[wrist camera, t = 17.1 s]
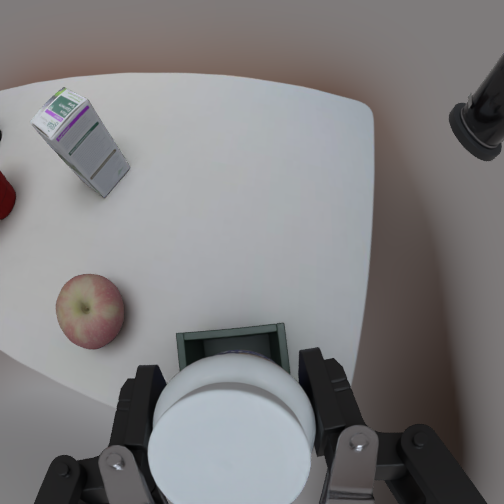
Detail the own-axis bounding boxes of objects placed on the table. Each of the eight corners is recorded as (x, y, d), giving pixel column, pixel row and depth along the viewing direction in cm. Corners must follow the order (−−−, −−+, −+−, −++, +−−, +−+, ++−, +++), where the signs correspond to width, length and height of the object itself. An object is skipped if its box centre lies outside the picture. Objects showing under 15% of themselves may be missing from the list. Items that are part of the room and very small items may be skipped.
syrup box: (132, 166, 38) (90, 95, 24) (104, 200, 37) (49, 138, 23) (107, 150, 39) (64, 83, 25) (80, 181, 38) (27, 121, 24)
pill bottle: (291, 349, 16) (347, 357, 7) (288, 441, 14) (330, 538, 5) (191, 346, 16) (118, 348, 7) (189, 437, 14) (129, 527, 5)
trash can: (272, 327, 33) (284, 322, 23) (281, 400, 30) (296, 425, 20) (197, 335, 32) (175, 333, 22) (206, 407, 30) (188, 435, 20)
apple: (126, 357, 31) (94, 360, 24) (74, 335, 32) (35, 331, 24) (143, 292, 34) (116, 278, 26) (90, 274, 34) (56, 257, 26)
